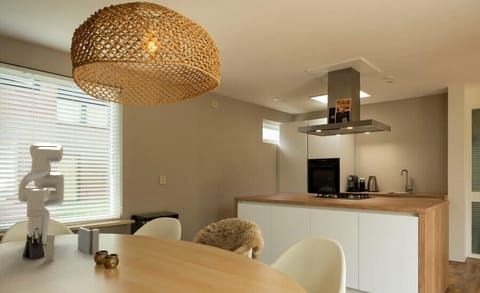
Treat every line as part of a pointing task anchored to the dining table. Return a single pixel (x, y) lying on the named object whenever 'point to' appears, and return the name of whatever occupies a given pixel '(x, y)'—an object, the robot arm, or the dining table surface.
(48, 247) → the post
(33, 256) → the phone stand
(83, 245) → the door
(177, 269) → the dining table surface
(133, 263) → the dining table surface
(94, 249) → the hinge post
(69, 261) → the dining table surface
